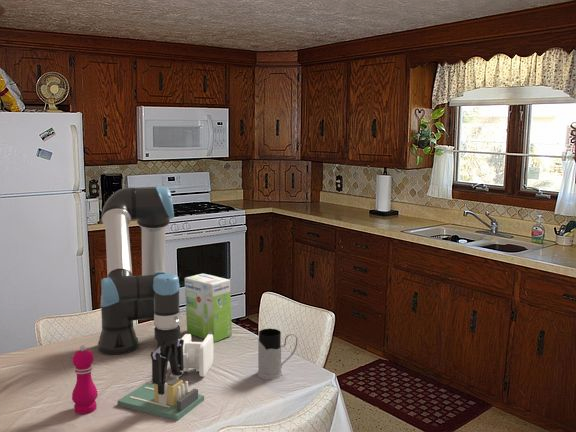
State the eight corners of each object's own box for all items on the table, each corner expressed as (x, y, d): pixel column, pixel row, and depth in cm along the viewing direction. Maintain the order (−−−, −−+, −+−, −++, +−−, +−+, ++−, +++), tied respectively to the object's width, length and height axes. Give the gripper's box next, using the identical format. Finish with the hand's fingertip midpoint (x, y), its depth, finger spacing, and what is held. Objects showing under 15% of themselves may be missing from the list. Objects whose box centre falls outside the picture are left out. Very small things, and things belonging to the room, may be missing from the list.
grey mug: (254, 369, 195) (254, 329, 193) (293, 366, 199) (294, 325, 197) (259, 380, 187) (259, 337, 185) (300, 376, 190) (300, 334, 188)
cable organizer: (203, 381, 186) (203, 348, 184) (172, 379, 187) (172, 346, 185) (214, 363, 201) (213, 332, 199) (185, 362, 202) (185, 331, 200)
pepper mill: (76, 404, 169) (73, 341, 167) (100, 403, 170) (98, 340, 167) (69, 415, 162) (66, 350, 159) (94, 414, 163) (91, 349, 160)
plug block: (154, 401, 168) (154, 381, 167) (164, 394, 173) (164, 375, 172) (173, 405, 165) (173, 385, 164) (183, 398, 170) (182, 379, 169)
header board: (117, 405, 169) (116, 382, 168) (147, 386, 181) (146, 365, 180) (177, 420, 160) (176, 396, 159) (204, 400, 172) (203, 377, 171)
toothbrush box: (185, 333, 232) (184, 276, 228) (204, 326, 239) (203, 272, 236) (213, 343, 220) (212, 284, 217) (232, 336, 228) (231, 279, 224)
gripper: (158, 337, 156) (160, 415, 159) (194, 318, 172) (196, 389, 176) (137, 333, 159) (139, 409, 162) (174, 315, 175) (176, 385, 179)
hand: (169, 399), depth 169 cm, fingers closed on plug block, 5 cm apart
